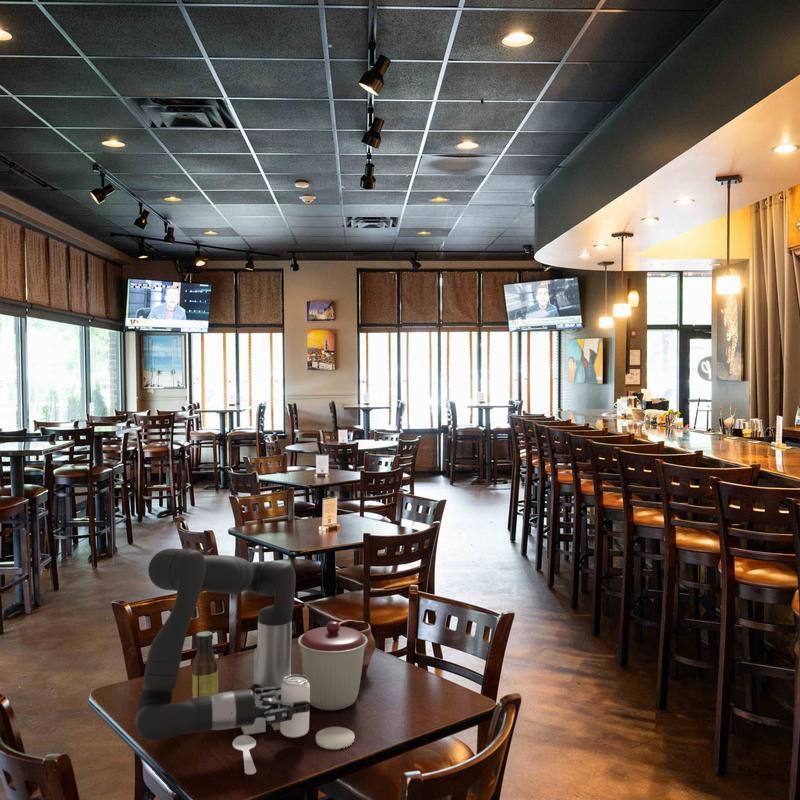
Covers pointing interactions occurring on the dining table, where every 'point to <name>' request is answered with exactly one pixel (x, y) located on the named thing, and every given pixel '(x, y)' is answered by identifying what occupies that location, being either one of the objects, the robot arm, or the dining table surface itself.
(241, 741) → the spoon
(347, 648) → the canister
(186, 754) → the dining table surface
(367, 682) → the dining table surface
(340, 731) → the cream saucer
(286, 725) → the can
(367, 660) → the decorative planter
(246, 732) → the white rectangular block
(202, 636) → the sauce bottle
